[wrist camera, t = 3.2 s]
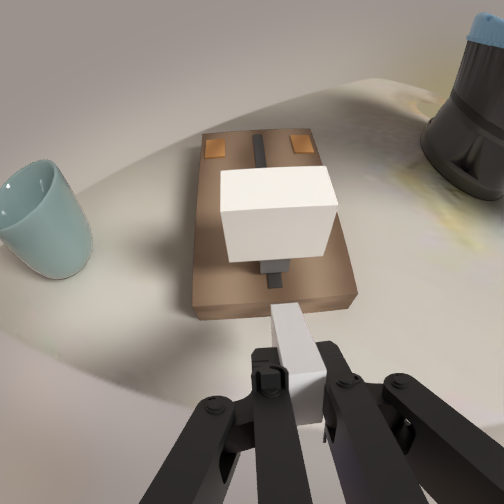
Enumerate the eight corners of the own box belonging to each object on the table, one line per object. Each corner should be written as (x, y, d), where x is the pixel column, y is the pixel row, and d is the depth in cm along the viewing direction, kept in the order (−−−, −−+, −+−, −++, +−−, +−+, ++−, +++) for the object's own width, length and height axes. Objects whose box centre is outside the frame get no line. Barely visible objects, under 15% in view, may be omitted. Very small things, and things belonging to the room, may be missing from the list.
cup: (43, 241, 29) (-3, 182, 20) (100, 216, 30) (60, 146, 22) (44, 300, 25) (-19, 245, 16) (107, 275, 26) (53, 206, 18)
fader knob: (310, 241, 23) (326, 165, 17) (316, 275, 22) (338, 205, 15) (231, 246, 23) (220, 170, 17) (232, 281, 22) (220, 211, 15)
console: (307, 148, 34) (310, 127, 32) (347, 308, 24) (358, 292, 21) (206, 154, 34) (202, 132, 32) (199, 320, 24) (191, 305, 21)
